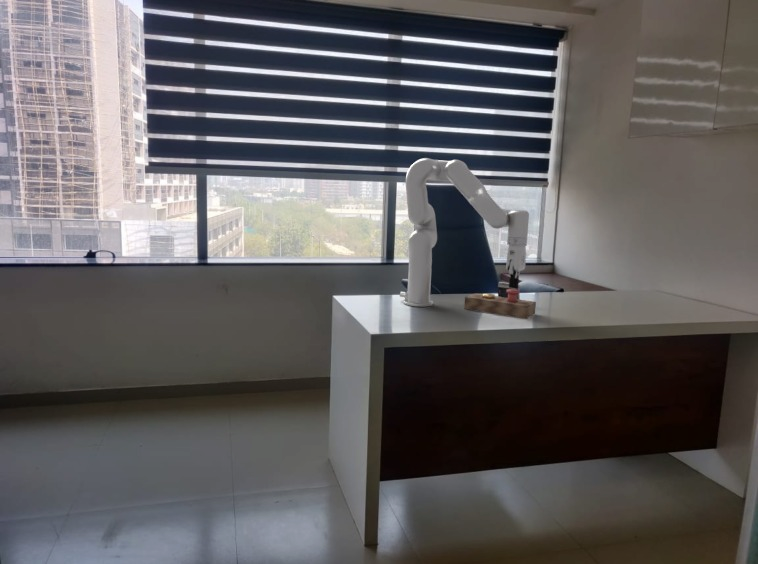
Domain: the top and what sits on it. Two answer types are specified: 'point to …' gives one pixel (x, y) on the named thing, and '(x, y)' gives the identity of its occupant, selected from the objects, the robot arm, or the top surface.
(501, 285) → the electrical switch
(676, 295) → the top surface
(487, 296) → the brass plug
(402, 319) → the top surface
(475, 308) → the plug block
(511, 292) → the oxblood plug
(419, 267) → the robot arm
